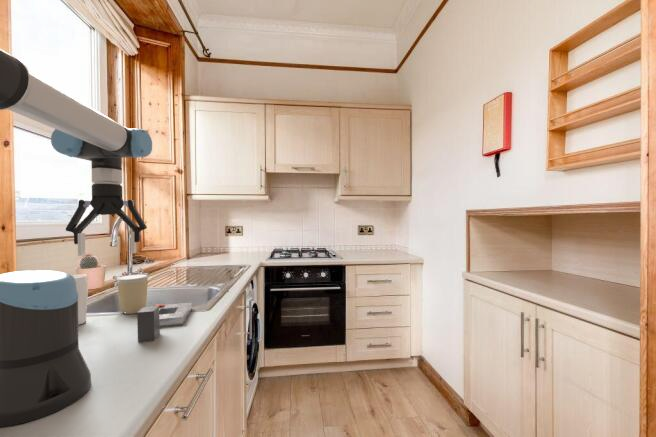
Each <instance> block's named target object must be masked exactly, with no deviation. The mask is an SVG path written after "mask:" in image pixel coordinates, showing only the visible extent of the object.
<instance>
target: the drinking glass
mask: <svg viewBox="0 0 656 437" xmlns="http://www.w3.org/2000/svg"><path fill="white" fill-rule="evenodd" d="M70 275H71V276H72V277H74V279H75V281H76V288H77V292H78V326H80V325H83V324H85V323H86V321H87V306H88V297H89V296H88V294H89V276H88V274H81V273H80V274H70Z"/></svg>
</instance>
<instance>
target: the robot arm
mask: <svg viewBox="0 0 656 437" xmlns="http://www.w3.org/2000/svg"><path fill="white" fill-rule="evenodd" d="M5 110H8V111H11V112H14V113H16V114H19V115H20V116H23V117H26V118H27V119H29V120H33V121H35V122H38V123H40V124H42V125H45V126H47V127H49V128H53V129H54V130H53V131H52V133H51V136H50V142H51V143H50V144H51V146H52V148H53V149H54V150H55V151H56V152H57V153H60V154H62V155H65V156H67V157H69V158H76V159H81V160H84V161H85V160H86V161H89V162H90V163H91V182H92V183H93V184H92V185H91V200H85V199H79V200H78V205H77V208H76V210H75V212H74V214H73V215H72V217H71V219H70V220H69V222H68V224H67V226H66V227H65V231H66V232H69V233H73V243H74V245H77V256H78V257H79V256H81V257H82V256H84V255H86V233H85V232H83V231H84V230H85V229H86V228H87V227H88V226H89V225H90V224H91V223H92V222H93V221H94V220H95V219H96V218H97V217H98V216H99V215H101V216H106V215H112V216H113V215H117V217H119V218H120V219H121V220H122V221H123V222H124V223H125V224H126V225H127V226H128V227H129V228H130V229H131V230H132V231H131V232H130V248H131V249H130V253H131V254H136V253H137V251H138V249H137V247H138V246H137V245H138V244H137V243H139V242H141V232H142V231H145V230H146V229H147V225H146V223H145V222H144V219H143V218H142V216H141V214H140V213H139V211H138V209H137V208H136V204H135V200H132V199H128V200H123V185H121V184H123V168H122V166H123V165H122V163H123V162H122V161H123V160H122V159H124V158H125V159H127V158H129V159H130V158H134V159H137V158H145V157H146V158H147V157H148V156H150V155H151V153H152V152H153V140H152V137H151V135H150V134H149V132H148V131H147V130H145V129H143V128H136V127H133V128H128V127H126V126H124V125H122V124H120V123H118V122H117V121H115V120H113V119H112V118H111V117H108V116H106V115H104V114H103V113H102V112H99V111H97V109H95V108H93V107H91V106H89V105H87V104H85V103H84V102H82V101H80V100H78V99H76V97H75V98H74V97H73V96H71V95H70V94H68V93H66V92H64V91H62V90H61V89H60V88H57V87H56V86H54V85H52V84H50V83H49V82H46V80H44V79H41V78H40V77H38V76H37V75H35V74H33V73H31V72H30V71H29V70H28V67H27V65H25V63H24V62H22V61H21V60H20V59H19V58H16V57H15V56H13V55H12V54H10V53H8V52H7V51H5V50H3V49H1V48H0V111H5ZM90 206H91V207H92V208H93V209H92V210H91V211H90V212H89V214H88V215H86V216H85V217H84V218H83V220H82V221H81V219H82V217H83V216H84V214H85V212H86V210H87V208H89V207H90ZM124 206H125V207H126V208H128V209H129V211H130V213H131V215H132V216H133V219H134V220H135V221H136V223H137V224H136V223H135V222H134V221H133V220H132V219H131V218H130V217H129V216H128V215H127V214H126V213H125V211H124V210H123V209H122V208H124ZM80 221H81V222H80ZM71 275H72V274H69V273H67V272H63V271H60V270H59V271H57V270H46V269H45V270H43V269H38V270H18V271H10V272H5V273H4V272H3V273H1V274H0V428H4V427H11V426H15V425H19V424H23V423H28V422H32V421H34V420H39V419H41V418H43V417H46V416H50V415H51V414H53V413H56V412H58V411H60V410H62V409H64V408H66V407H67V406H70V405H72V404H73V403H75V402H77V401H78V400H80V399H81V398H83V396H85V394H86V393H88V391H90V389H91V386H92V376H91V375H92V374H91V370H90V369H89V367H88V364H87V363H86V361H85V358H84V356H83V354H82V352H81V350H80V347H79V346H80V345H79V325H78V292H77V288H76V281H75V279H74V277H72V276H71Z"/></svg>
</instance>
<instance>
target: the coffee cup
mask: <svg viewBox="0 0 656 437" xmlns="http://www.w3.org/2000/svg"><path fill="white" fill-rule="evenodd" d="M148 279H149V276H148V274H129V275H125V276H124V275H123V276H120V277H118V278H117V280H116V283H117V292H118V301H119V310H120V313H121V312H126V313H124V315H126V314H127V315H129V314H137V311H139V310H141V309H142V308H143V307H147V302H148V301H147V300H148Z"/></svg>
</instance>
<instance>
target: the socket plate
mask: <svg viewBox="0 0 656 437" xmlns="http://www.w3.org/2000/svg"><path fill="white" fill-rule="evenodd" d="M192 305H193V303H192V302H181V303H169V304H165V303H159V304H158V303H157V304H156V303H155V304H154V305H153V306H159V325H160V328H163V327H165V328H166V327H172V326H173V327H175V326H183V325H184V323H185V321H186V320H187V318H188V316H190V315H189V314H190V313H191V311H192V310H193V309H192V308H193V307H192ZM191 309H192V310H191Z"/></svg>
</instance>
